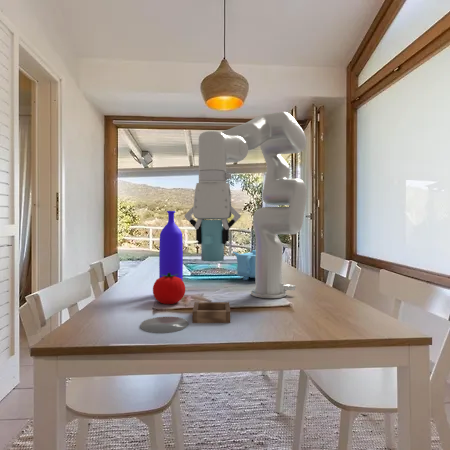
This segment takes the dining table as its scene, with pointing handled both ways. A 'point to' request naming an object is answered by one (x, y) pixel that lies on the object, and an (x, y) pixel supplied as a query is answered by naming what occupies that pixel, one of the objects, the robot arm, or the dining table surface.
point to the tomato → (169, 289)
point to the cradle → (211, 312)
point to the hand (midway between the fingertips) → (212, 243)
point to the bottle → (171, 249)
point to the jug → (212, 240)
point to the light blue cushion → (246, 265)
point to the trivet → (164, 324)
